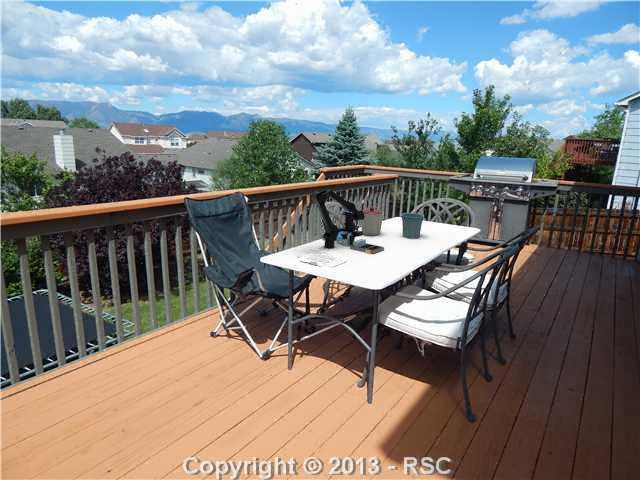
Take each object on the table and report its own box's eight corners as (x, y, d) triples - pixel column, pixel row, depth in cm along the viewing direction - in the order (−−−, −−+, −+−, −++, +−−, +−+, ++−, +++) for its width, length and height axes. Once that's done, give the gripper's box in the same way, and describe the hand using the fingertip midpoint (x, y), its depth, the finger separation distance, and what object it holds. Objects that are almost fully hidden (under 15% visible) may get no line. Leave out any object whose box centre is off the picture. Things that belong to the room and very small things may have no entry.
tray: (312, 253, 256) (312, 247, 255) (349, 263, 240) (350, 257, 239) (291, 260, 240) (291, 254, 239) (329, 272, 224) (329, 265, 223)
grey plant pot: (384, 237, 295) (385, 208, 290) (359, 237, 295) (360, 208, 290) (381, 231, 312) (382, 204, 307) (357, 231, 313) (358, 204, 308)
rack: (372, 256, 248) (373, 251, 247) (348, 250, 260) (348, 245, 259) (384, 251, 258) (384, 247, 257) (360, 246, 270) (360, 242, 269)
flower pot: (421, 234, 305) (422, 213, 301) (424, 239, 289) (426, 217, 285) (398, 233, 306) (400, 212, 302) (400, 239, 290) (402, 216, 286)
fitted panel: (357, 249, 258) (357, 242, 257) (353, 248, 260) (353, 241, 259) (365, 246, 265) (365, 239, 264) (361, 246, 267) (362, 238, 266)
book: (358, 230, 299) (343, 237, 278) (357, 236, 300) (343, 243, 279) (337, 228, 307) (321, 234, 286) (337, 233, 308) (321, 240, 287)
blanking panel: (346, 247, 267) (346, 240, 266) (342, 247, 269) (342, 239, 267) (354, 245, 273) (354, 238, 272) (350, 244, 275) (351, 237, 274)
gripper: (368, 221, 267) (367, 244, 271) (345, 217, 279) (345, 239, 283) (358, 224, 259) (357, 247, 263) (335, 220, 271) (334, 242, 274)
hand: (348, 244), depth 271 cm, fingers open, 4 cm apart
